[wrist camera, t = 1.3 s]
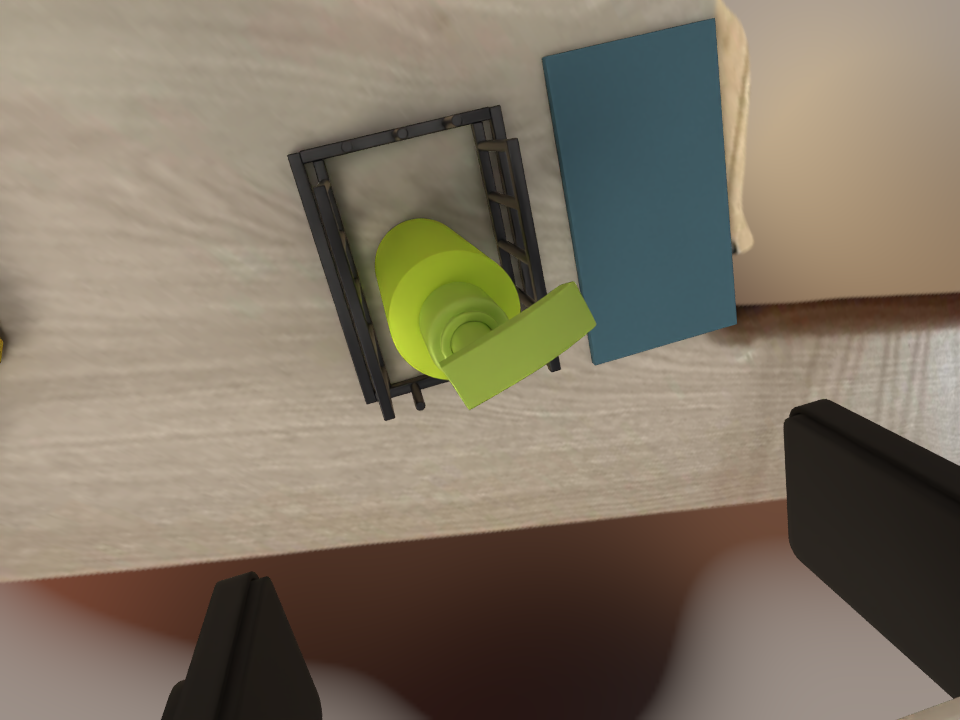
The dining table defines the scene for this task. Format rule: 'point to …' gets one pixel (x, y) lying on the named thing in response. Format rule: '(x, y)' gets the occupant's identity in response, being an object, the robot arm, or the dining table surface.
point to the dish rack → (521, 249)
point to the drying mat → (645, 186)
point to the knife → (0, 347)
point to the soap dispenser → (469, 312)
